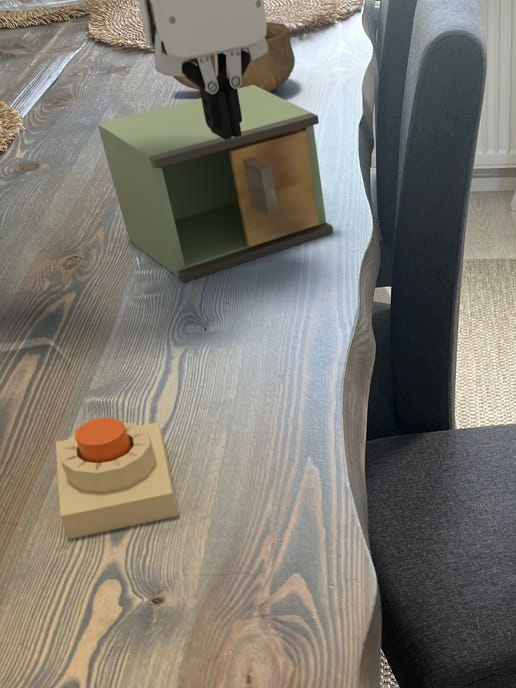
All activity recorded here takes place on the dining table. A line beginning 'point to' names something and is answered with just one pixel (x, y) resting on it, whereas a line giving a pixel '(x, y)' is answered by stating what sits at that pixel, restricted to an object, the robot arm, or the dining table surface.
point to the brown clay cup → (265, 62)
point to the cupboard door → (274, 187)
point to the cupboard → (198, 181)
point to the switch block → (116, 485)
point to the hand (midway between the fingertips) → (226, 133)
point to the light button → (102, 440)
